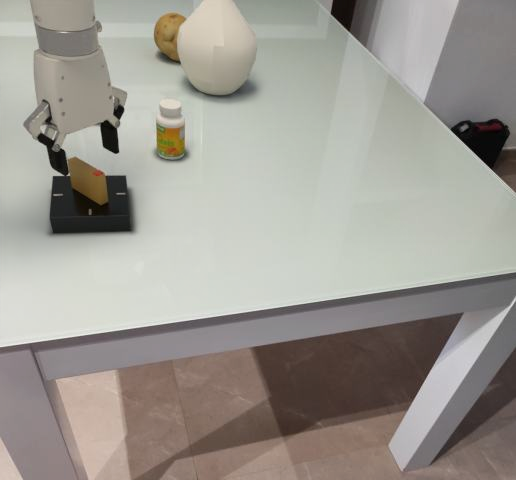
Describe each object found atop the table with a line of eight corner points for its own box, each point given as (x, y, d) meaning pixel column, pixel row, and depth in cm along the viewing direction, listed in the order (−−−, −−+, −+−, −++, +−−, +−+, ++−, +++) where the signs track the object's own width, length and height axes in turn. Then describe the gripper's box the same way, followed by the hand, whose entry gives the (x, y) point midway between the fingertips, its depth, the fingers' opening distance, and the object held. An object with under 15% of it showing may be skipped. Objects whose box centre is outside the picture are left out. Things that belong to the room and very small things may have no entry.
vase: (266, 88, 127) (284, -61, 105) (223, 111, 116) (234, -51, 94) (207, 66, 133) (213, -81, 111) (161, 85, 122) (157, -74, 100)
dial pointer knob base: (52, 233, 80) (49, 216, 78) (55, 191, 88) (52, 174, 86) (131, 231, 83) (129, 214, 81) (127, 190, 91) (126, 174, 88)
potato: (188, 48, 139) (189, 6, 132) (197, 67, 132) (199, 23, 124) (151, 47, 137) (149, 4, 129) (157, 66, 129) (156, 21, 122)
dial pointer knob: (71, 187, 84) (66, 157, 80) (79, 184, 85) (74, 154, 81) (100, 205, 82) (97, 175, 78) (108, 201, 83) (105, 172, 79)
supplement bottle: (152, 155, 100) (150, 105, 92) (164, 144, 103) (163, 94, 96) (177, 163, 99) (177, 113, 92) (189, 151, 102) (189, 102, 95)
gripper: (100, 17, 73) (113, 134, 85) (-11, 43, 63) (22, 171, 75) (137, 33, 70) (145, 151, 83) (28, 62, 60) (55, 191, 73)
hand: (86, 160), depth 79 cm, fingers open, 9 cm apart
